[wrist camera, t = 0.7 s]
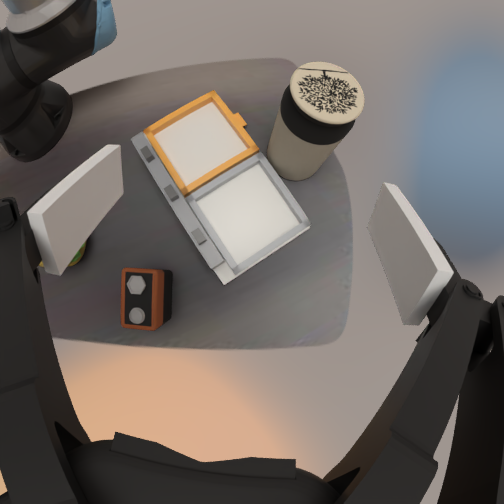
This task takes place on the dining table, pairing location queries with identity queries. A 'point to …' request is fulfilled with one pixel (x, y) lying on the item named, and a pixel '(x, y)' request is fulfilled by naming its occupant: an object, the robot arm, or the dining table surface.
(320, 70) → the travel mug
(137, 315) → the battery
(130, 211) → the dining table surface
